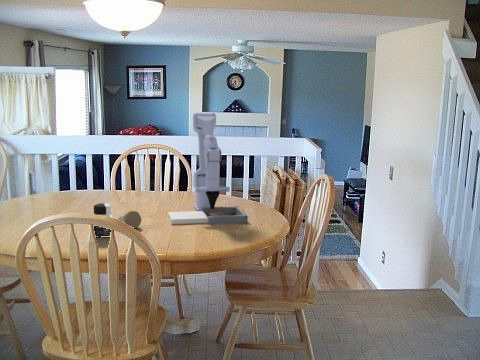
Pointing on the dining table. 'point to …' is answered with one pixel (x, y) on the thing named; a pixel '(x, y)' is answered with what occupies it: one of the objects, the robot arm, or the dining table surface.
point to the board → (187, 217)
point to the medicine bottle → (104, 211)
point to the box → (237, 218)
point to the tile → (217, 214)
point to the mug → (131, 218)
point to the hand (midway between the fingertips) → (212, 208)
